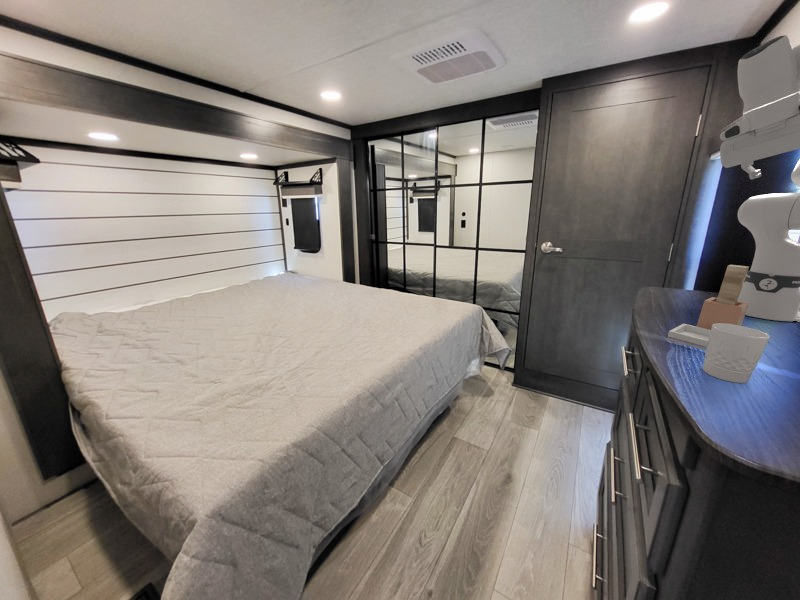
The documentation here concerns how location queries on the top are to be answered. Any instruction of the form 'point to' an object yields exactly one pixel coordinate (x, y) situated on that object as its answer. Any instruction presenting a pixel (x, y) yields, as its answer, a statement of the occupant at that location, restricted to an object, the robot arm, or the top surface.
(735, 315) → the terracotta cup
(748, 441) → the top surface
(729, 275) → the birch stick
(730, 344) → the white cup
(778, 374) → the top surface
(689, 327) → the grey tray
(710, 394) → the top surface
